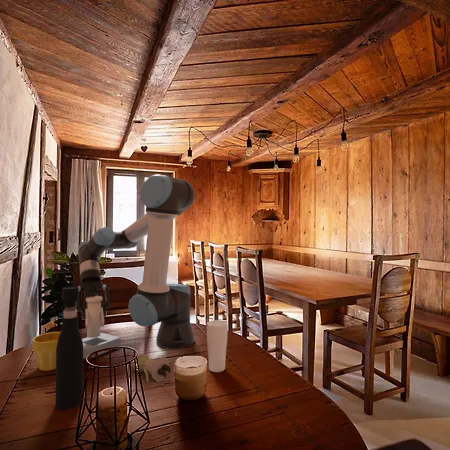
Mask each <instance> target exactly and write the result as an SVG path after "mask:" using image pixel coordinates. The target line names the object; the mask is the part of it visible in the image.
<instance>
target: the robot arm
mask: <svg viewBox="0 0 450 450" xmlns="http://www.w3.org/2000/svg"><path fill="white" fill-rule="evenodd" d="M195 192H196V191H195V189H194V186H193V185H192V184H191V183H190V182H189V181H188V180H186V179H183V178H178V177H173V176H171V175H170V176H169V175H164V174H163V175H162V174H153V175H150V176H149V177H148V178H147V179H145V181H144V182H143V183H142V185H141V187H140V192H139V193H140V194H139V197H140V200H141V202H142V204H143V205H144V206H145V214H143V215H142V216H140V217H139V218H138V219H137V220H135V221H134V222H133V223H132V224H130V225H129V226H128V227H126V228H125V229H123V230H122V231H114V230H113V229H112V228H110V227H107V226H101V227H99V228H98V229H97V230H96V231H95V232H94V233H93V235H92V236H91V238H90V239H89V240H86V241H84V242H81V243H80V244H79V246H78V254H77V255H78V261H79V264H78V265H79V276H80V284H79V285H77V287H78V288H79V292H78V300H76V307H75V309H77V313H79V312H80V313H81V320H85V329H86V330H87V329H88V327H89V320H88V309H87V302H86V298H87V297H89V296H90V295H91V296H92V295H95V296H100V297H103V295H102V293H101V290H102V289H103V291H104V298H105V301H104V299H103V300H102V301H101V324H100V328H101V327H102V328H103V327H104V326H105V318H106V317H107V310H108V309H110V307H111V298H110V291H109V289H110V285H111V284H110V283H107V284H104V283H103V282H102V278H101V269H100V259H99V258H100V257H101V256H102V255H103V254H104V252H105V251H108V250H110V251H111V250H124V249H126V250H128V249H133V248H136V247H137V246H138V244H139V241H140V240H141V239H144V237H146V245H145V253H144V255H145V256H144V262H143V271H142V272H143V273H142V280H141V281H142V282H140V283H139V284H138V285H137V289H136V290H137V291H136V294H134V295H133V296H132V297H131V298H130V299H129V301H128V312H129V316H130V317H131V319H132V320H133V322H134V323H135V324H136V325H138V326H139V327H150V326H154V325H156V324H158V323H159V328H158V331H157V335H156V337H155V338H156V339H155V340H156V341H155V343H156V344H157V346H159V347H162V348H169V349H179V348H185V347H188V346H191V345H192V344H194V342H195V333H194V331H193V327H192V324H191V295H192V294H191V288H190V286H189V285H188V284H187V285H186V284H182V283H181V284H179V283H167V280H168V272H169V271H168V269H169V260H170V254H171V253H170V252H171V244H172V243H171V242H172V236H173V226H174V225H173V224H174V220H175V218H177V217H178V216H180V215H182V214H183V213H185V212H186V211H187V210H189V209H190V208H191V206H192V205H193V204H194V202H195V199H196V193H195ZM80 291H81V292H83V293H84V296H83V301H82V305H81V304H80V303H81V301H80Z"/></svg>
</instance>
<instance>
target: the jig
mask: <svg viewBox="0 0 450 450" xmlns="http://www.w3.org/2000/svg"><path fill="white" fill-rule="evenodd" d="M82 341H83V360H86V358H87V356H88V355H90V354H91V353H93V352H95V351H98V350H101V349H105V348H109V347H117V346H120V347H121V337H120V336H117V335H112V334H109V333H104V332H100V336H98V337H94V338H89V337H87V336H86V337H84V338H83V337H82ZM107 352H109V351H102V352H99V353H98V356H100V355H103V354H106V353H107ZM95 357H96V356H94V355H93V356H92V358H95Z"/></svg>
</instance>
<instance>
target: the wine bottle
mask: <svg viewBox="0 0 450 450" xmlns="http://www.w3.org/2000/svg"><path fill="white" fill-rule="evenodd" d="M78 292H79V288H78V286H76V285H75V286H72V285H70V286H65V287H62V288H61V302H64V310H63V312H62V313H63V315H62V319H61V331H60V332H61V333H60V335H59V338H58V342H57V347H56V369H55V408H56V409H59V410H63V411H65V410H70V409H74V408H76V407H78V406H80V405H81V404H82V403H81V399H82V395H83V396H84V359H83V341H82V339H83V336H82V334H81V332H80V328H79V316H78V312H77V309H76V300H78ZM79 293H80V292H79ZM80 403H81V404H80Z"/></svg>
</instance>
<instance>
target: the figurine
mask: <svg viewBox="0 0 450 450" xmlns="http://www.w3.org/2000/svg"><path fill="white" fill-rule="evenodd" d="M134 356H135V355H133V352H131V360H133V358H134ZM136 357H138V365H139V369H140V373H142V372H144V374H145V380H146V382H147V383H149V382H150V377H149V374H150V375H151V378H152V379H154V380H155V381H156V383H157V382H158V383H159V382H160V381H163V380H164V379H165V378H166V377H167V376H168V373H169V374H170V373H171V372H172V368H171V366H170V361H169V359H168V358H167V357H165V356H161V357H159V358H152V357H150V358H149V356H146V355H145V354H144V353H141V354H140V355H139V354H138V355H137V356H136ZM131 365H132V367H133V370H134V371H136V370H135V365H134V363H133V362H131ZM136 369H138V368H137V366H136Z"/></svg>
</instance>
